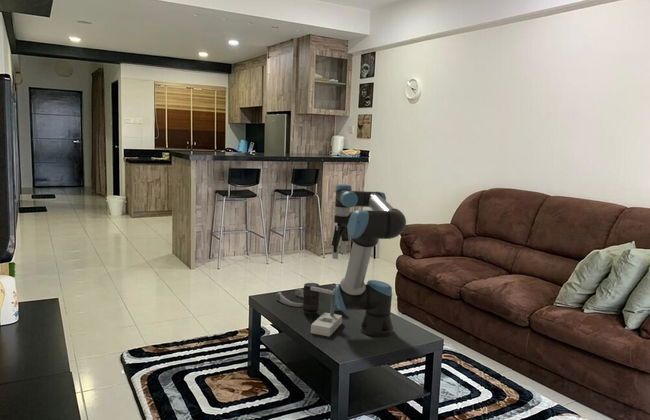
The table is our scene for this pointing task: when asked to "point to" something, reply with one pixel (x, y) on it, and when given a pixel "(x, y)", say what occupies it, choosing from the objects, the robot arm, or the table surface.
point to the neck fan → (284, 300)
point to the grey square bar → (323, 290)
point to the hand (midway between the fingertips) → (339, 256)
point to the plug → (335, 305)
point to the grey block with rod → (327, 321)
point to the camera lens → (310, 299)
